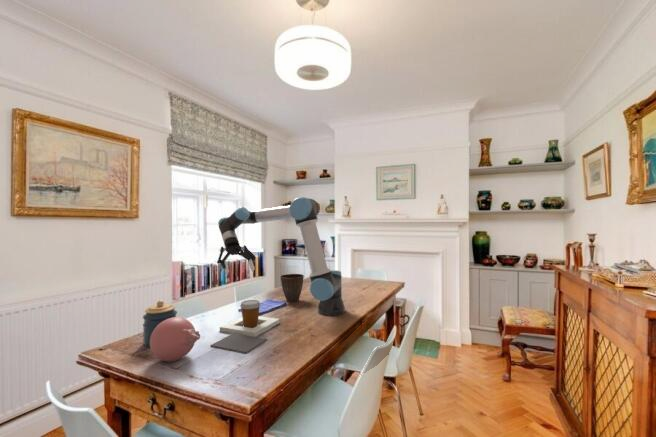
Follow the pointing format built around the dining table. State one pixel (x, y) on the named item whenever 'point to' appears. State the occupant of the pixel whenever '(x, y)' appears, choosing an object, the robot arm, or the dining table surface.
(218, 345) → the rubber mat
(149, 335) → the canister
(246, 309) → the disposable coffee cup
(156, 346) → the balloon
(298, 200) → the robot arm
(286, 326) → the dining table surface
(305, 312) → the dining table surface
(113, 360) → the dining table surface
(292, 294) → the plant pot
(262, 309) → the dish towel
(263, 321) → the holder board
